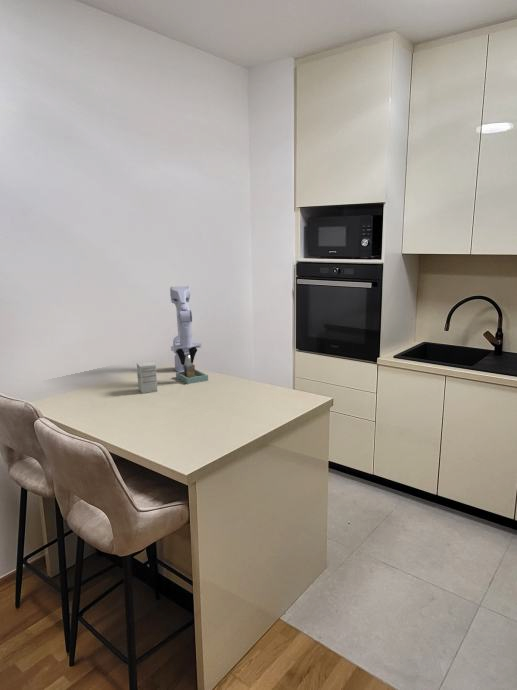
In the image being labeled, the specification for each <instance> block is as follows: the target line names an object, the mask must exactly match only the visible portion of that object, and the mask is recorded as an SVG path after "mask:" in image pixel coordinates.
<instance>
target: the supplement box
mask: <svg viewBox="0 0 517 690" xmlns="http://www.w3.org/2000/svg"><path fill="white" fill-rule="evenodd" d="M136 372H137V385H138V386H137V388H138V390H139V391H140V393H141V394H149V393H155V392H158V378H157V364H155V363H154V362H153V361H144V362H138V363H136Z"/></svg>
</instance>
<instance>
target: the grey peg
mask: <svg viewBox="0 0 517 690" xmlns="http://www.w3.org/2000/svg"><path fill="white" fill-rule="evenodd" d="M191 364H192V363H191V354H190V353H186V354H184V365H183V369H185V370H188V369H192V365H191Z"/></svg>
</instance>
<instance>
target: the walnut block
mask: <svg viewBox="0 0 517 690" xmlns="http://www.w3.org/2000/svg"><path fill="white" fill-rule="evenodd" d="M191 365H192V369H188V370H185V369H184V376H185V377H187V378H191V377H195V369H196V368H195V366H196V365H195V364H194V363H193V364H192V363H191Z"/></svg>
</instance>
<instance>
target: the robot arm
mask: <svg viewBox="0 0 517 690" xmlns="http://www.w3.org/2000/svg"><path fill="white" fill-rule="evenodd" d="M169 291H170V293H169V294H170V301H171V303H172V304H174V305H175V309H176V320H177V321H176V322H177V325H176V326H177V335H176V336H175V337H174V338H173V340H172V343H173V344H172V346H170V350H171V351H172V352H173V353H174V354H175V355H174V367H173V370H174V371H177V372H182V371H184V369H183V365H184V354H186V353H190V354H191V364H193V365H194V361H195V356H196V353H197V352H198V348H202V343H200V342H198V343H197V342H194V343H193V330H192V329H193V328H192V323H193V313H192V310H191V309H190V303H189V302H190V299H191V288H190V286H189V285H186V286H170V287H169Z"/></svg>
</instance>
